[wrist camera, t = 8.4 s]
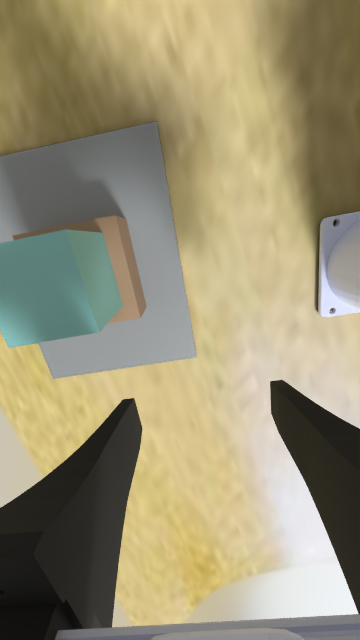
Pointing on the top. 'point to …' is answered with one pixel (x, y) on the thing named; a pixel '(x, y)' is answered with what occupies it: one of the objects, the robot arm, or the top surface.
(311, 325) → the top surface
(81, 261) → the teal block
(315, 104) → the top surface
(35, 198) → the build base
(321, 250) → the robot arm
